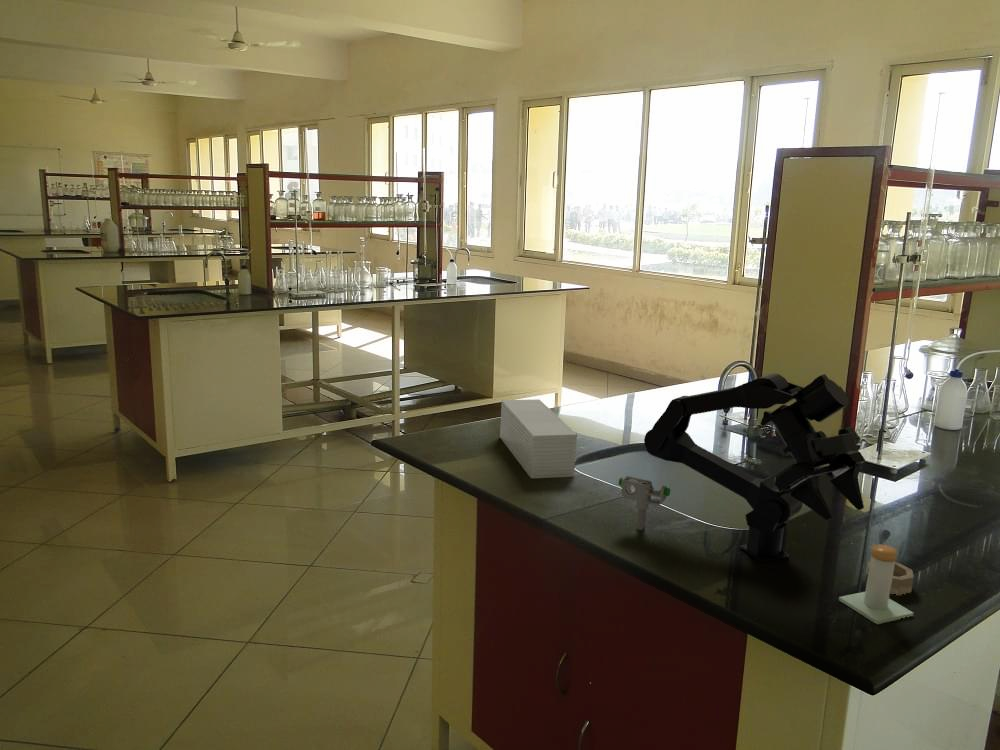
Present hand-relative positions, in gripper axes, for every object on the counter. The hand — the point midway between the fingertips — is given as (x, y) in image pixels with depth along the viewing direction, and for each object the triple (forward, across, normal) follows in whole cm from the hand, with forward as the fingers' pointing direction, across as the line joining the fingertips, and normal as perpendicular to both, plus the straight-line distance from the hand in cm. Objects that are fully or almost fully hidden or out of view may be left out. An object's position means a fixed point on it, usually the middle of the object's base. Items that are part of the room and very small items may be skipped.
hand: (845, 514), depth 134 cm
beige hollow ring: (+13, +9, +6) cm, 17 cm away
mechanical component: (-15, -14, +34) cm, 40 cm away
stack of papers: (-48, -7, +68) cm, 83 cm away
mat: (+15, -1, +4) cm, 16 cm away
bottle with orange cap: (+15, -1, +4) cm, 15 cm away
